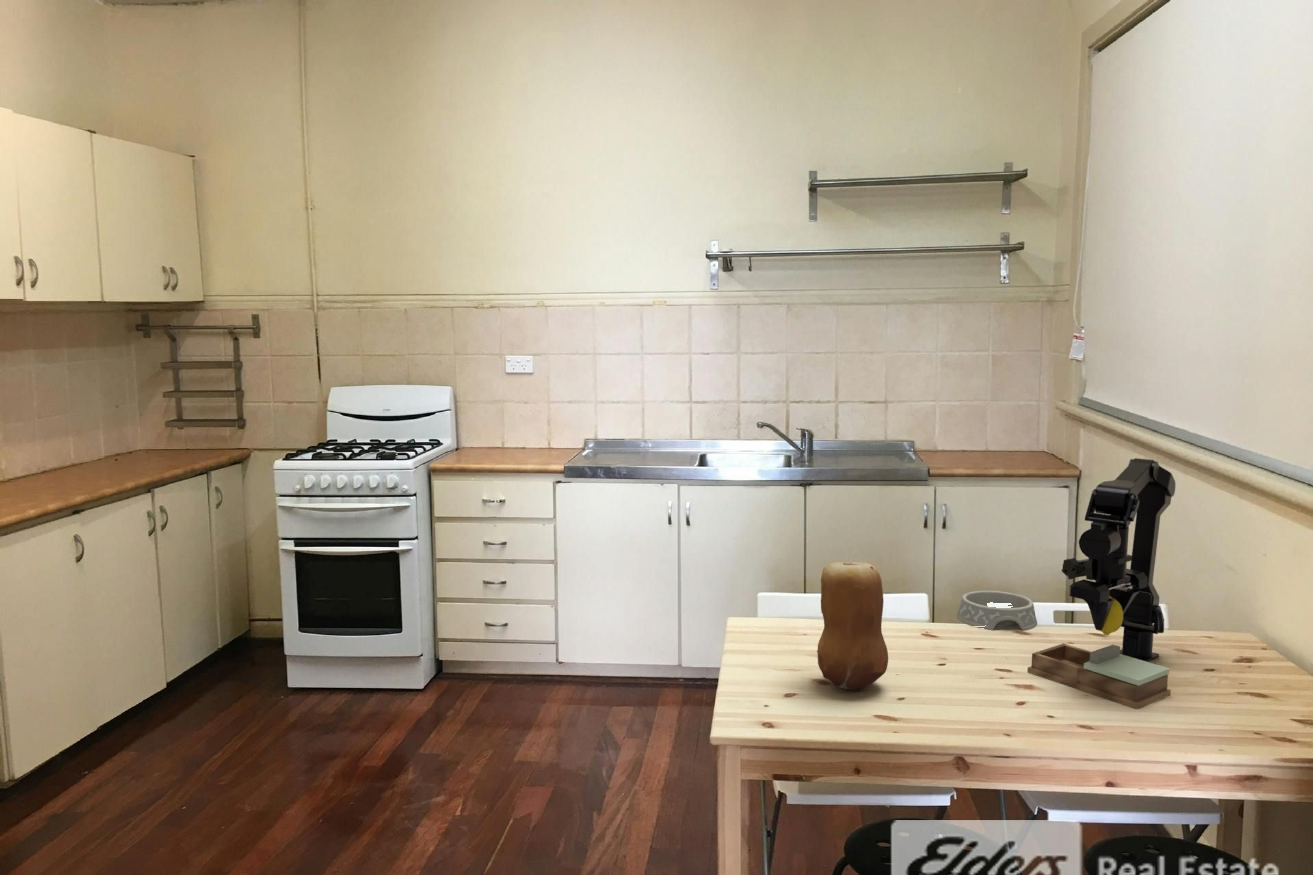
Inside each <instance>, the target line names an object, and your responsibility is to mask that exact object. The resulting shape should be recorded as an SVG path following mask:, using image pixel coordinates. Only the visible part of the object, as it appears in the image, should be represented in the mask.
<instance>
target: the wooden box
mask: <svg viewBox="0 0 1313 875" xmlns="http://www.w3.org/2000/svg"><path fill="white" fill-rule="evenodd" d="M1090 652H1092V651H1090V650H1087V649H1084V648H1080V647H1077V646H1073V645H1070V644H1066V643H1060V644H1058V645H1054V646H1052V647H1048V648H1045V649H1042V650H1039V651H1036V652H1033V653H1031V666H1028V667H1027V673H1028V674H1031V673H1032V675H1034V676H1038V677H1040V678H1044V679H1046V680H1049V681H1052V682H1055V683H1059V684H1061V685H1064V686H1067V687H1069V688H1074V689H1077V690H1080V691H1083V692H1084V693H1088V694H1092V695H1094V696H1097V697H1099V698H1102V699H1106V700H1109V701H1112V702H1115V703H1118V704H1122V705H1124V706H1126V707H1130V708H1133V709H1136V710H1137V709H1140V708H1142V707H1145V706H1147V705H1149V704H1152V703H1155V702H1157V701H1159V700H1162V699H1164V698H1167V697H1170V696H1171V692H1172V689H1168V678H1169V674H1167V675H1165V676H1162V677H1160V678H1157V679H1154V680H1152V681H1149V682H1147V683H1144V684H1142V685H1139V686H1138V685H1135V684H1132V683H1128V682H1125V681H1122V680H1119V679H1116V678H1113V677H1109V676H1106V675H1103V674H1100V673H1097V672H1094V671H1090V670H1087V669H1084V663H1086V662H1089V661H1090Z"/></svg>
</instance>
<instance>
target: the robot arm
mask: <svg viewBox="0 0 1313 875" xmlns="http://www.w3.org/2000/svg"><path fill="white" fill-rule="evenodd" d="M1173 475H1174V474H1173V473H1172V472H1171V471H1169V470H1167V469H1166V468H1163V467H1162V466H1161V465H1160V464H1159V461H1158V460H1157V461H1156V460H1154V459H1148V458H1137V457H1135V458H1130V460H1129V462H1128V465H1127V466H1126V468H1125V469H1123V471H1122V472H1120V474H1119V475H1118V476H1117V477H1116V478H1115V479H1113V480H1108V481H1107V480H1106V481H1103V482H1101V483H1099V484H1097V486H1096V487H1095V488H1094V489H1093V490H1092V492H1091V494H1090V497H1089V502H1088V506H1087V509H1086V513H1085V517H1084V521H1087V522H1091V523H1090V528H1088V529H1087V530H1085V531H1084V532H1083V533H1082V534H1081V535H1080V537H1079V539H1078V547H1079V549H1080V551H1081V553H1083V555H1084V556H1085V557H1087V558H1084V559H1079V560H1077V558H1075V557H1073V558H1066V559H1064V560H1063V563H1062V569H1061V572H1062V573H1063V574H1064V575H1065V576H1066V577H1067V579H1068V580H1073V579H1074V578H1081V577H1082V578H1083V577H1085V579H1081V580H1078V581H1074V582H1073V583H1071V584H1070V585H1069V594H1068V595H1069V597H1071V598H1076V599H1080V600H1083V601H1084V602H1085V603H1086V604H1087V605H1088V609H1089V612H1090V614H1091V619H1093V620H1092V623H1093V622H1094V623H1093V625H1094V630H1096V631H1100V632H1101V630H1102V629H1103V627H1104V624H1105V622H1106V619H1107V617H1108V614H1109V612H1110V609H1111V607H1112V604H1113V602H1114V599H1115V600H1117V601H1118V602H1119V603H1120V605H1121V607H1122V611H1123V622H1122V625H1121V626H1120V628H1123V634H1122V635H1123V636H1122V646H1121V647H1122V648H1120V654H1122V655H1125V656H1129V657H1132V658H1136V659H1139V660H1142V661H1146V662H1150V661H1151V660H1154V659H1157V658H1159V657H1160V654H1159V653H1157V652H1153V644H1154V635H1158V634H1164V632H1165V617H1164V614H1163V611H1162V607H1161V605H1160V595H1159V594H1158V591H1157V590H1156V587H1155V585H1154V575H1155V565H1156V558H1157V549H1158V548H1157V547H1158V538H1159V531H1160V530H1159V529H1160V523H1161V522H1160V521H1161V516H1162V515H1163V513H1164V512H1165V511H1166V509H1167V508H1168V507H1169V506H1170V505H1171V503H1172V502H1171V501H1172V497H1174V495H1175V492H1176V486H1177V485H1176V480H1175V478H1174V476H1173ZM1134 520H1135V524H1134V532H1133V534H1134V535H1133V539H1132V540H1133V542H1132V551H1131V554H1128V549H1129V548H1128V546H1129V545H1128V544H1129V530H1130V528H1129V527H1130V525H1131V523H1132V522H1134ZM1128 562H1130V567H1129V568H1127V564H1128ZM1109 596H1111V597H1112V598H1114V599H1110V598H1108V597H1109Z"/></svg>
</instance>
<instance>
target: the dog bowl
mask: <svg viewBox="0 0 1313 875" xmlns="http://www.w3.org/2000/svg"><path fill="white" fill-rule="evenodd" d="M961 597H962V598H961V600H960V604H959V608H958V611H957V614H956V619H957V620H958V621H960V623H963V624H965V625H967V626H970V627H973V626H985V625H986V626H985V627H976V628H977V629H981V628H984V629H983V630H987V631H993V630H994V629H995V627H996V626H997V627H1014V626H1019V627H1020V629H1021V630H1022V631H1023V632H1025V631H1030V630H1032V629H1034V628H1037V626H1038V620H1037V616H1036V611H1035V606H1034V602H1033V600H1031V599H1030V598H1028V597H1026V596H1024V595H1022V594H1018V593H1017V594H1016V593H1012V592H1006V591H999V590H975V591H970V592H967V593H965V594H963V595H962V596H961ZM990 602H993V603H1011V604H1012V605H1008V606H1013V607H1011V608H996V607H988V606H987V603H990Z"/></svg>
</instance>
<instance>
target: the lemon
mask: <svg viewBox="0 0 1313 875" xmlns="http://www.w3.org/2000/svg"><path fill="white" fill-rule="evenodd" d="M1108 598H1110V599H1114V598H1112V597H1111V596H1109V597H1108ZM1091 619H1092V618H1091ZM1122 622H1123V611H1122V607H1121V605H1120V603H1119V602H1118V601H1117V600H1115V599H1114V602H1113V604H1112V607H1111V609H1110V612H1109V614H1108V617H1107V619H1106V622H1105V624H1104V627H1103V629H1102V630H1101V631H1100V632H1102V633H1103V635H1104V636H1109V635H1111V634H1113V633H1114V632H1117V631H1119V629H1120V628H1121V627H1120V626H1121V625H1122ZM1092 623H1093V624H1094V622H1093V619H1092Z"/></svg>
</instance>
